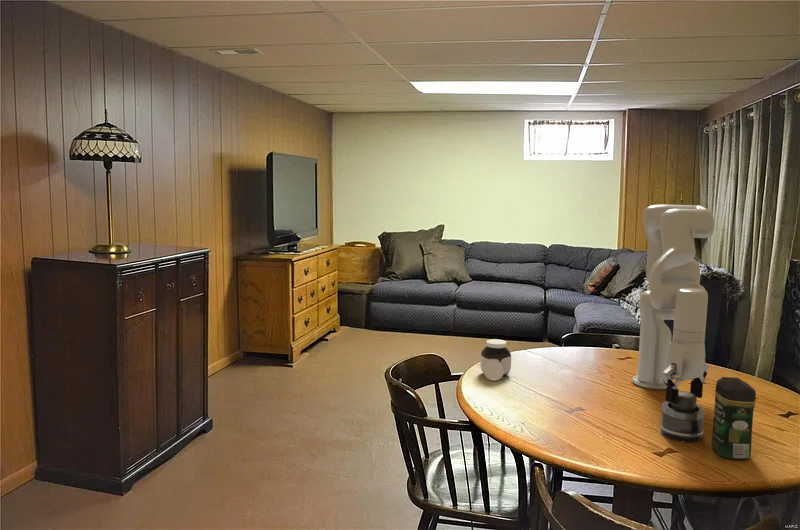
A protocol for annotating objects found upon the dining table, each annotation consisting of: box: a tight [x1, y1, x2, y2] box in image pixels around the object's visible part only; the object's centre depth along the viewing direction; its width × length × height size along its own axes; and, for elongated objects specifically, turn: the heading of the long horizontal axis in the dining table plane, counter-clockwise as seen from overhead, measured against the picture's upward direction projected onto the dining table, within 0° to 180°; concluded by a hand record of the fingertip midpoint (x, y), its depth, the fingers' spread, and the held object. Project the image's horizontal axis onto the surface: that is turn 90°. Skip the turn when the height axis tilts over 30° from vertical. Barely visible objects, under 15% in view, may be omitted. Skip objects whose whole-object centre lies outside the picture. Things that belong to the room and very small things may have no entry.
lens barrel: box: [659, 400, 706, 443], centre depth 162 cm, size 10×10×8 cm
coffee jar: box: [710, 376, 757, 461], centre depth 151 cm, size 10×8×19 cm
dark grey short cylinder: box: [671, 390, 698, 412], centre depth 162 cm, size 6×6×5 cm
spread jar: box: [479, 338, 512, 382], centre depth 209 cm, size 12×11×12 cm
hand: (683, 399), depth 161 cm, fingers open, 9 cm apart
